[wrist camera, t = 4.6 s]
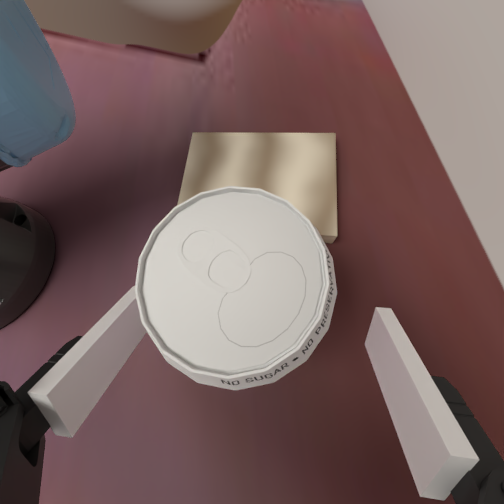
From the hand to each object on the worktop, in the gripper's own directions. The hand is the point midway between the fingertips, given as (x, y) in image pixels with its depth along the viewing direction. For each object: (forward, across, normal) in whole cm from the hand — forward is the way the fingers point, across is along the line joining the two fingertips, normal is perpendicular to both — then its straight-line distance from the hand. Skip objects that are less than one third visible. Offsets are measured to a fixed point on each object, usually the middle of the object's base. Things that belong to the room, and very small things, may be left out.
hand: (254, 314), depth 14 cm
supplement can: (+7, 0, -6) cm, 9 cm away
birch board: (+16, -2, +4) cm, 17 cm away
